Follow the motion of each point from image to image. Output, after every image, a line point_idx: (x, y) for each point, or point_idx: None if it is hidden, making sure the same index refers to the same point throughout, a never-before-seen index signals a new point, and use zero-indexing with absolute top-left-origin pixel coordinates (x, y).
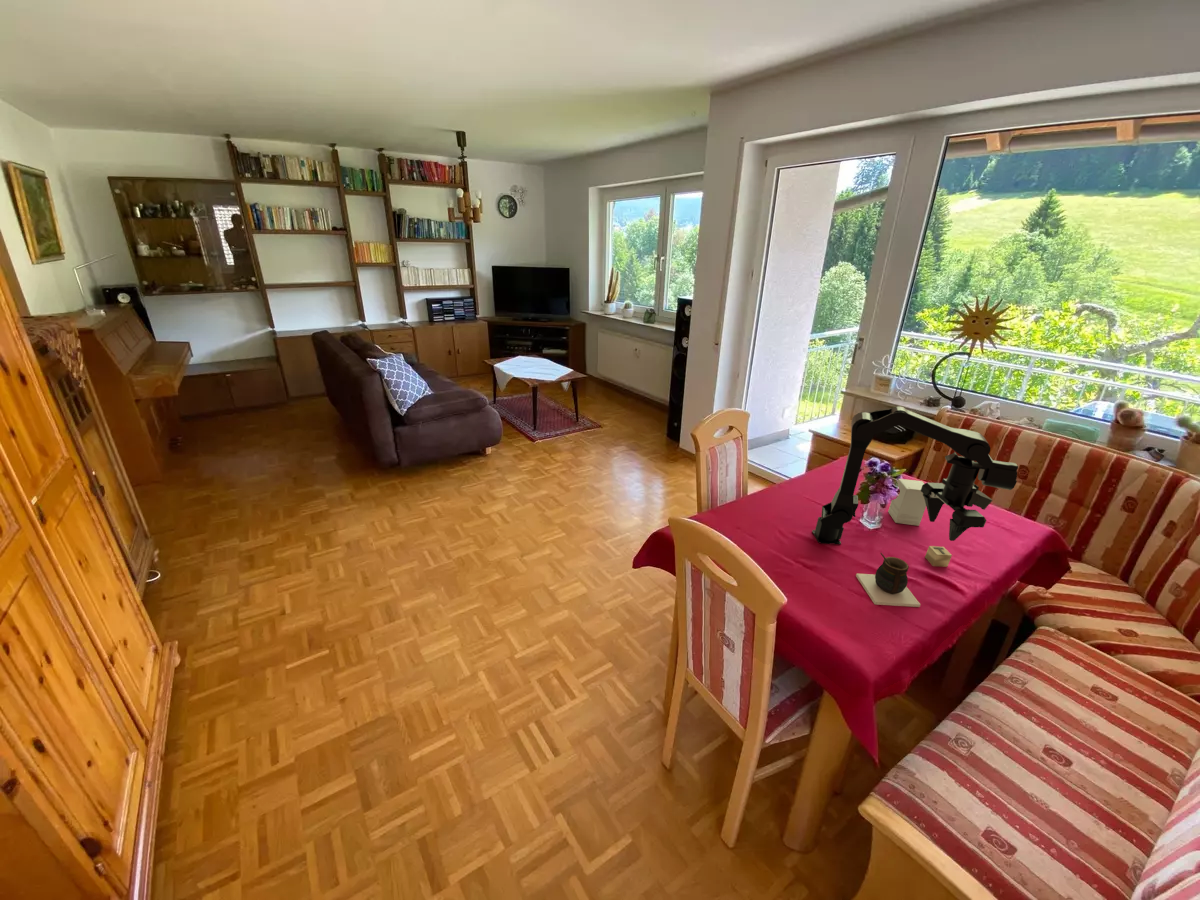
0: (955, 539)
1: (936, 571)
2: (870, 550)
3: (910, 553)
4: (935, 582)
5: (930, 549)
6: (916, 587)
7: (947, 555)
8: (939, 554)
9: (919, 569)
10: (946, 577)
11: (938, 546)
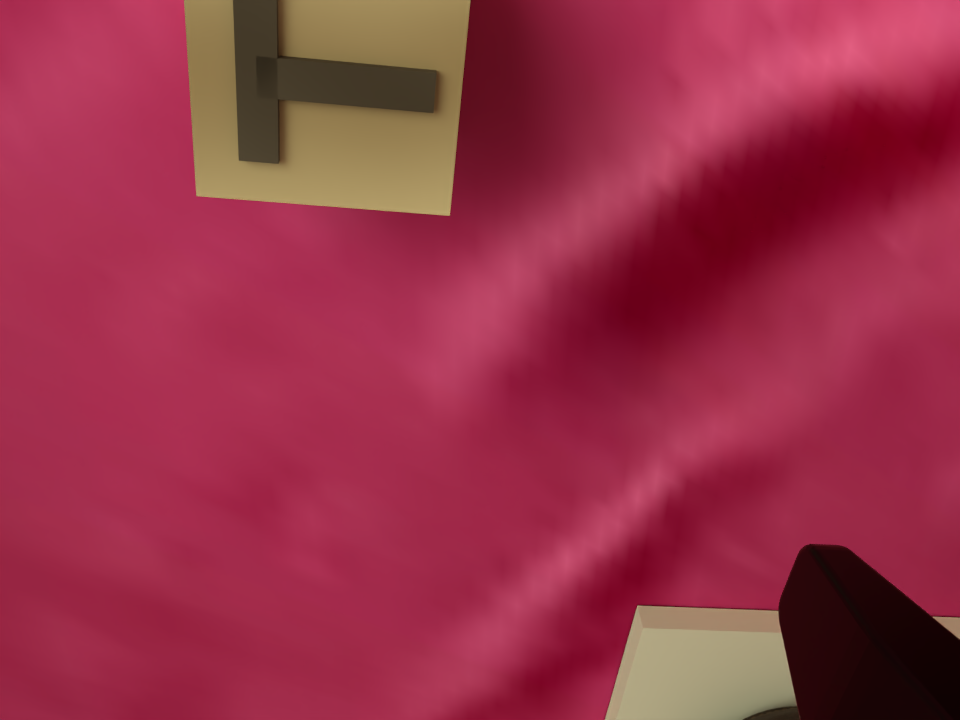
0: (879, 574)
1: (565, 162)
2: (187, 627)
3: (172, 263)
4: (757, 308)
5: (266, 190)
6: (786, 522)
7: (464, 30)
8: (450, 178)
9: (514, 343)
10: (696, 110)
11: (188, 26)
